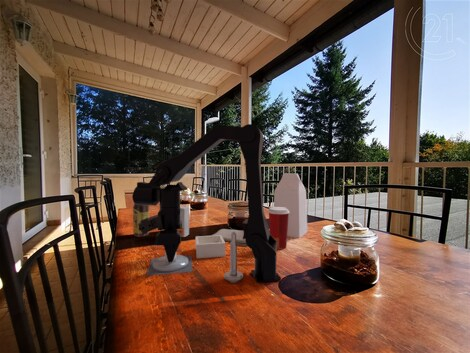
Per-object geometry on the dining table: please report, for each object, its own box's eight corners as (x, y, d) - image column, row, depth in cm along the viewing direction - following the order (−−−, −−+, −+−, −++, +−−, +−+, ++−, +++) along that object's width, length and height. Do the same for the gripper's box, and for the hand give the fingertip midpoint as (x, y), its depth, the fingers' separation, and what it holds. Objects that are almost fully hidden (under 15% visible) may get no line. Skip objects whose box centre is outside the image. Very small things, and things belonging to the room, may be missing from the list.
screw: (243, 288, 59) (223, 288, 59) (243, 278, 64) (224, 278, 64) (243, 234, 59) (223, 234, 59) (242, 229, 64) (224, 229, 64)
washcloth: (251, 248, 90) (251, 239, 89) (207, 242, 96) (207, 234, 95) (259, 238, 101) (259, 231, 101) (219, 234, 107) (219, 227, 107)
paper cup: (288, 243, 93) (288, 206, 92) (290, 250, 85) (290, 210, 84) (267, 243, 93) (267, 206, 93) (267, 250, 86) (267, 210, 85)
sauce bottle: (133, 234, 106) (132, 188, 105) (148, 232, 108) (147, 187, 107) (133, 238, 100) (132, 189, 99) (150, 236, 102) (149, 188, 101)
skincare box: (171, 236, 103) (171, 207, 102) (176, 233, 107) (176, 206, 107) (184, 237, 101) (184, 208, 101) (189, 234, 105) (189, 206, 105)
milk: (307, 231, 110) (308, 173, 109) (299, 238, 100) (300, 174, 99) (282, 228, 116) (282, 172, 115) (272, 233, 107) (272, 173, 105)
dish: (225, 258, 78) (225, 243, 78) (196, 260, 76) (196, 244, 76) (221, 249, 87) (221, 235, 87) (195, 250, 85) (195, 236, 85)
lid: (188, 270, 67) (188, 255, 67) (150, 273, 65) (150, 258, 65) (188, 257, 77) (188, 244, 77) (154, 259, 75) (154, 246, 75)
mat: (192, 274, 67) (192, 271, 67) (145, 278, 64) (145, 275, 64) (191, 258, 78) (191, 255, 78) (152, 261, 76) (152, 258, 76)
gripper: (145, 202, 78) (146, 250, 79) (133, 213, 60) (134, 276, 61) (181, 201, 80) (182, 248, 81) (180, 211, 62) (180, 272, 63)
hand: (170, 259), depth 71 cm, fingers closed on lid, 3 cm apart
